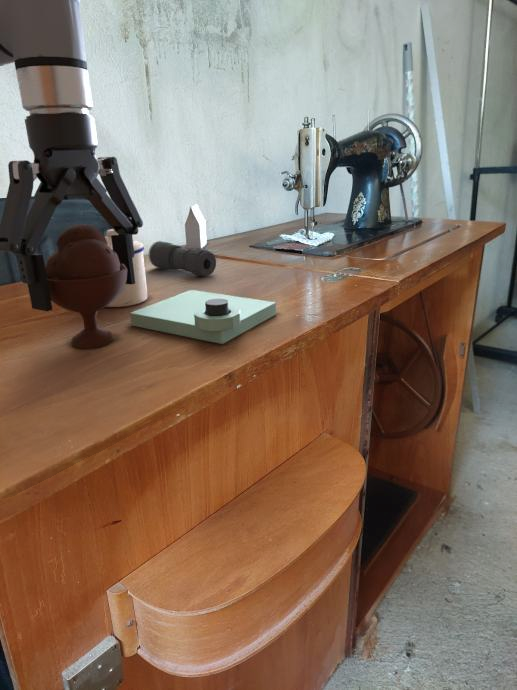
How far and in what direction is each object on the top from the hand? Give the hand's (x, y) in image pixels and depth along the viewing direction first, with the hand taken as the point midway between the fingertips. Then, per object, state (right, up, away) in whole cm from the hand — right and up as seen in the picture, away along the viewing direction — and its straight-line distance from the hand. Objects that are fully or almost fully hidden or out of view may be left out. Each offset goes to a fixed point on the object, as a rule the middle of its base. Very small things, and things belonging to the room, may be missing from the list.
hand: (87, 295), depth 66 cm
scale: (+14, -3, +10) cm, 17 cm away
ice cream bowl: (0, -6, +3) cm, 7 cm away
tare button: (+16, -2, +2) cm, 17 cm away
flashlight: (+6, +8, +39) cm, 40 cm away
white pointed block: (+6, +19, +66) cm, 68 cm away
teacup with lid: (-3, +1, +20) cm, 20 cm away
